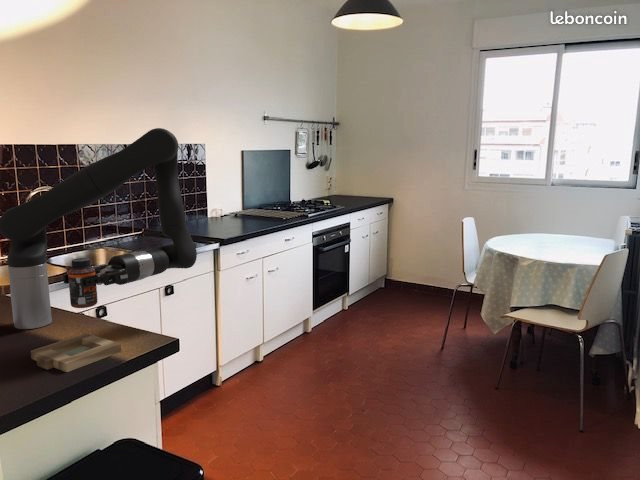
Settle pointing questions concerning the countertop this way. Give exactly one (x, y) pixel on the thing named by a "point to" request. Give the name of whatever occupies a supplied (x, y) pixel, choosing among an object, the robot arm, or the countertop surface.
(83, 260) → the supplement bottle
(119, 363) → the countertop surface
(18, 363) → the countertop surface
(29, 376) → the countertop surface
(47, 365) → the holder
